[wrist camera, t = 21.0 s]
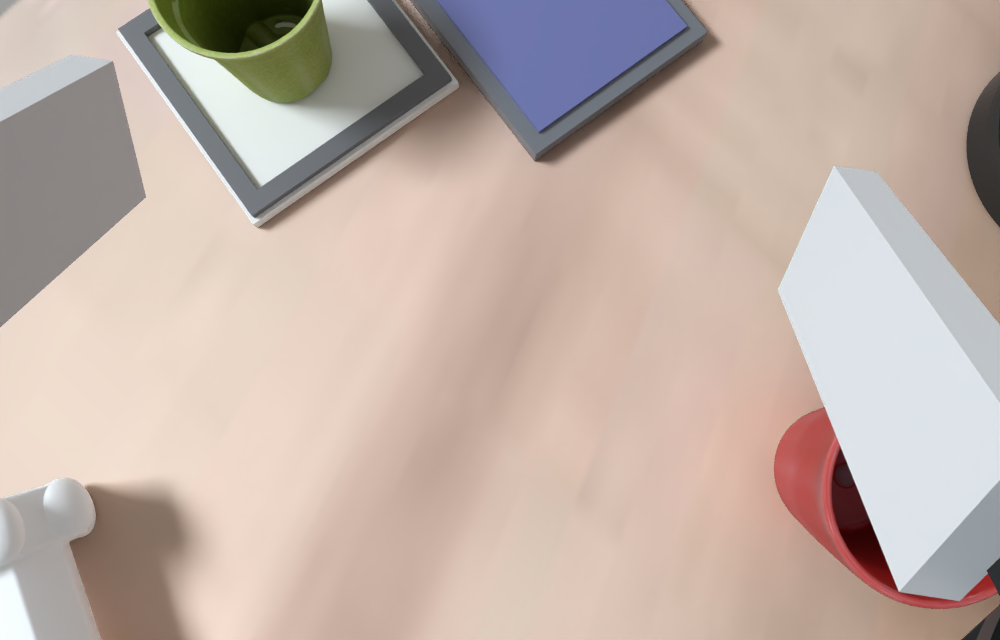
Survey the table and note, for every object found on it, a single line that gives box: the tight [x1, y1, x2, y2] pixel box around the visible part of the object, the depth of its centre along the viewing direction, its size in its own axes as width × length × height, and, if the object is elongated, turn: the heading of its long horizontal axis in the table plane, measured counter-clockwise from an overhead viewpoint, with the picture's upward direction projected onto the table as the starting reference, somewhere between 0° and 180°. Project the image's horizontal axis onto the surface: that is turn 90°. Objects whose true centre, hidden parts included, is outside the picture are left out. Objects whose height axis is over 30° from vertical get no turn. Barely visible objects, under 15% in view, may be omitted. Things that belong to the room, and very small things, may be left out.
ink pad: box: [410, 0, 707, 161], centre depth 44 cm, size 14×14×2 cm
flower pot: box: [774, 407, 998, 609], centre depth 36 cm, size 11×11×10 cm
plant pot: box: [147, 0, 332, 103], centre depth 39 cm, size 9×9×9 cm
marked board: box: [116, 0, 459, 228], centre depth 44 cm, size 16×16×1 cm
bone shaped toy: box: [0, 478, 101, 640], centre depth 36 cm, size 15×9×8 cm, turn 23°
